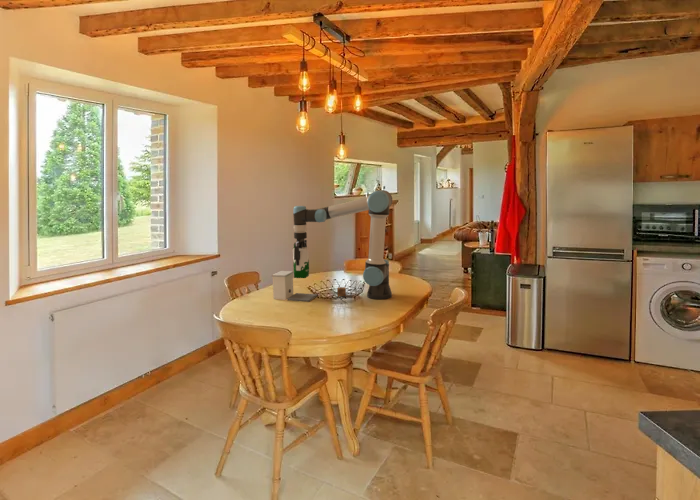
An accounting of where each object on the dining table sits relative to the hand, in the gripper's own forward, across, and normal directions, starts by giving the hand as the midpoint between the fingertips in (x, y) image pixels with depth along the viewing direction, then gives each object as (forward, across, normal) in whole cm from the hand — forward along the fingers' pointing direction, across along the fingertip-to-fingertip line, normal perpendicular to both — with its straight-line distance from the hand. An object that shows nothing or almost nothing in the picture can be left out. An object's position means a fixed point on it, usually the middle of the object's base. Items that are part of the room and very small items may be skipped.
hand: (301, 269), depth 265 cm
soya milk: (+5, 0, 0) cm, 5 cm away
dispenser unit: (+18, 0, -12) cm, 22 cm away
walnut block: (+18, -10, +22) cm, 30 cm away
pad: (+18, 0, 0) cm, 18 cm away
